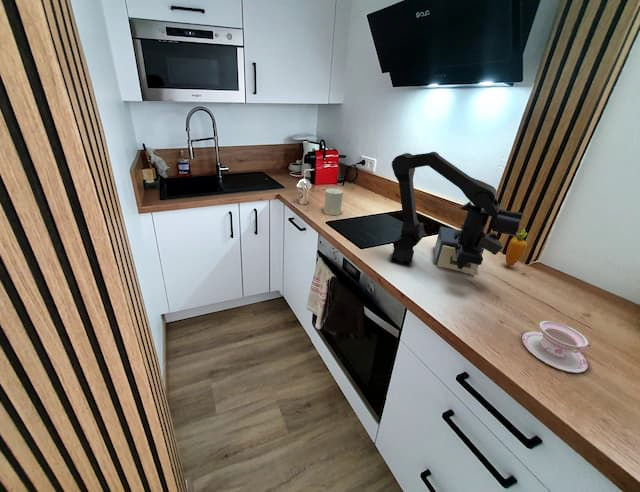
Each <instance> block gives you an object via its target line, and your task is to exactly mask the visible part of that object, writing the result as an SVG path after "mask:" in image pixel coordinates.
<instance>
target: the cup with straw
mask: <svg viewBox="0 0 640 492" xmlns="http://www.w3.org/2000/svg"><path fill="white" fill-rule="evenodd" d="M308 171H309V172H311V171H315V168H312V169H311V168H310V169H308V168H307V169H305V170H304V171H303V178H302V179H300V180H299V181H298V183H297V184H296V187H297V191H298V203H299V205H300V204H301V205H307V204H308V201H309V195H310V191H311V188H313V185H312V184H311V181H310V180H309V179H307V178H306V173H307V172H308Z"/></svg>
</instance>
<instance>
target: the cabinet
mask: <svg viewBox="0 0 640 492" xmlns="http://www.w3.org/2000/svg"><path fill="white" fill-rule="evenodd" d="M458 230H459V229H456V228H450V227H445V226H440V227H439V229H438V234H437V238H436V241H435V244H434V265H436V266H437V264H438V260H439V257H440V254H441V250H442V247H443V244H449V245H454V246H455V244H458V239H456V240H455V239H454V234H455V231H458ZM457 238H458V237H457ZM476 249H477V248H476ZM477 250H478V251H480V253H482V255H483V254H484V251H485V249H484V248H481V249H477Z"/></svg>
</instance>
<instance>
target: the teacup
mask: <svg viewBox="0 0 640 492" xmlns="http://www.w3.org/2000/svg"><path fill="white" fill-rule="evenodd" d="M539 327H540V329H541V331H542V332H541V331H526V332H525V333H523V334H522V337H521V342H522V344H523V346H524V347H525V348H526V349H527V351H528V352H529V353H530V354H531V355H533V356H534V357H535V358H537V359H538V360H539V361H542V363H544V364H546V365H548V366H551V367H552V368H555V369H558V370H560V371H563V372H567V373H573V374H579V373H584V372H585V371H586V370H588V361H587V359H586V357H585V356H584V355H583V354H582V353H584V352H586V351H588V350H589V348H590V347H592V345H591V344H590V343H589V341H588V339H587V338H586V337H585V336H584V335H583V333H580V332H579V331H577V330H576V329H574V328H572V327H570V326H568V325H565V324H563V323H560V322H557V321H552V320H542V321H540V322H539Z"/></svg>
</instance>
